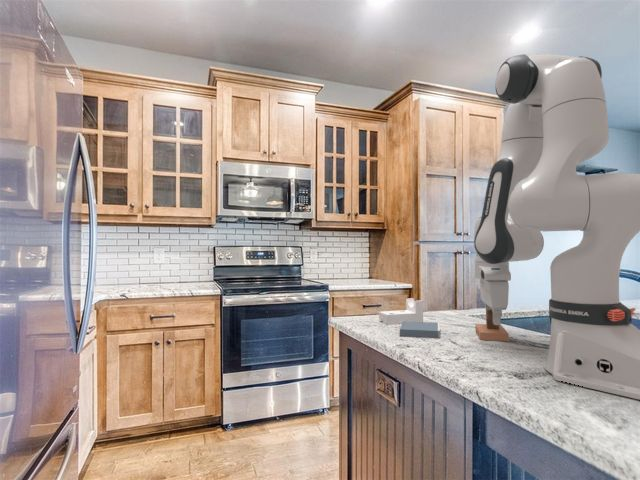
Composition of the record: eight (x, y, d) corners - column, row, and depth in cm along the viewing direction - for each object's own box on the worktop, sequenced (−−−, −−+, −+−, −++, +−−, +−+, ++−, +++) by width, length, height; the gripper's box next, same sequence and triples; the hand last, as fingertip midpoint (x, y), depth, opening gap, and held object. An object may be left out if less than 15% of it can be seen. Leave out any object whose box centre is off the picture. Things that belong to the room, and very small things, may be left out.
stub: (480, 339, 102) (479, 313, 102) (475, 330, 114) (474, 306, 114) (508, 341, 100) (507, 314, 100) (501, 331, 112) (500, 307, 112)
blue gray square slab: (399, 336, 108) (399, 328, 108) (403, 327, 120) (403, 321, 120) (440, 338, 105) (440, 330, 105) (439, 329, 117) (439, 322, 117)
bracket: (413, 319, 135) (412, 298, 135) (423, 323, 128) (422, 300, 128) (379, 321, 132) (378, 300, 132) (387, 325, 125) (386, 302, 125)
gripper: (474, 270, 118) (475, 314, 117) (485, 274, 98) (487, 328, 98) (496, 270, 116) (497, 315, 116) (512, 274, 96) (514, 329, 96)
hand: (493, 321), depth 106 cm, fingers open, 8 cm apart
